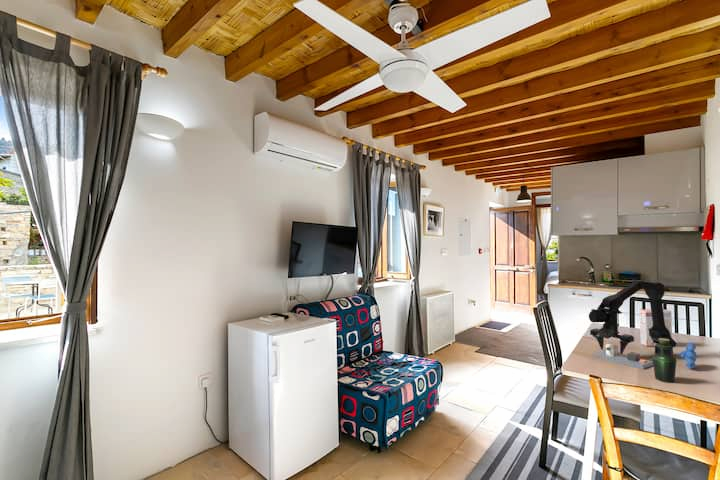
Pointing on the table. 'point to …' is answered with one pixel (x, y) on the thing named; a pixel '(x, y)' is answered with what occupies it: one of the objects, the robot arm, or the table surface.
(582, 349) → the table surface
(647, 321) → the cracker box
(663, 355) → the potion bottle
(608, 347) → the plug
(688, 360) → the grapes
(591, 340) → the table surface
